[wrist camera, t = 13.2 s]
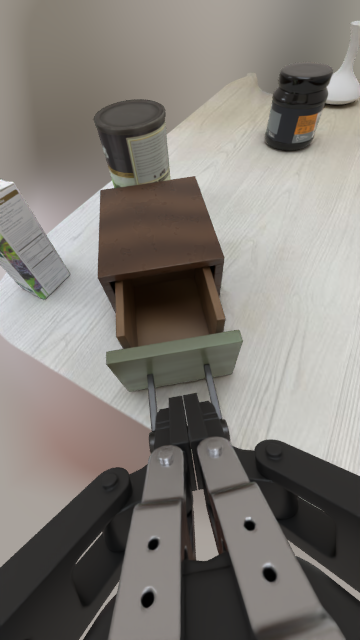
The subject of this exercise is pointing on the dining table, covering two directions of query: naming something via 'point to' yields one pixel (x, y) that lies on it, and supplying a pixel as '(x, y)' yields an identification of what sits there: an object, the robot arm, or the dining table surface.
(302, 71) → the supplement container
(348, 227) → the dining table surface
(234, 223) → the dining table surface
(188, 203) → the cabinet
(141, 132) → the coffee can
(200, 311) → the drawer
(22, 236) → the syrup box
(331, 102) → the flower in vase
